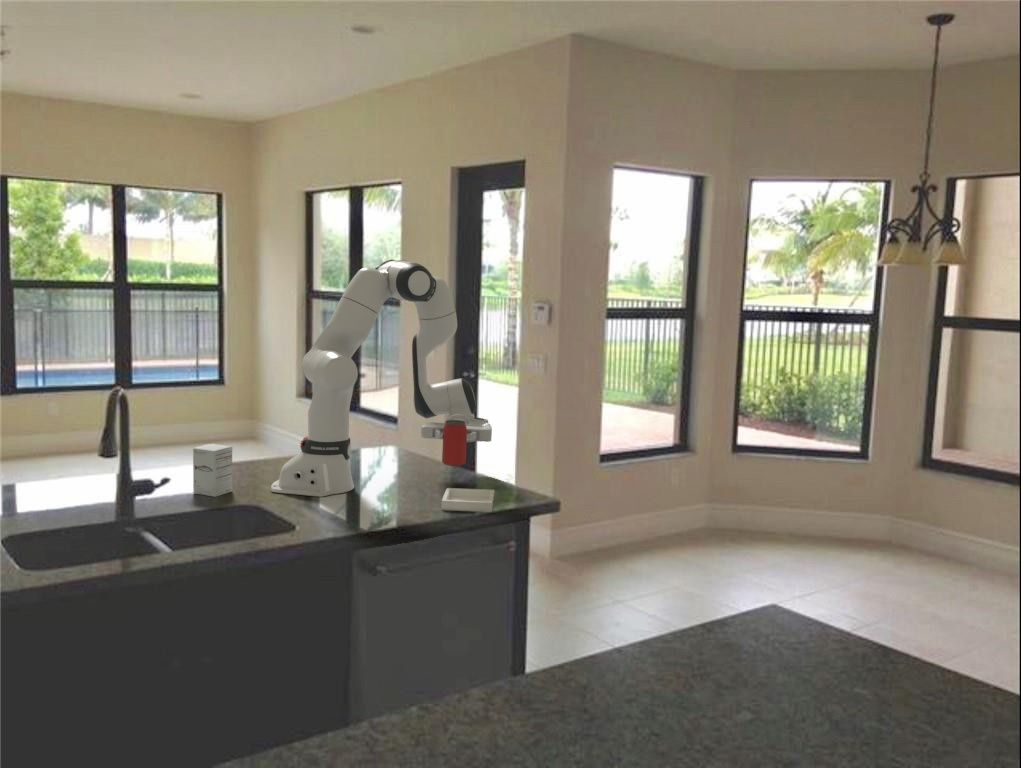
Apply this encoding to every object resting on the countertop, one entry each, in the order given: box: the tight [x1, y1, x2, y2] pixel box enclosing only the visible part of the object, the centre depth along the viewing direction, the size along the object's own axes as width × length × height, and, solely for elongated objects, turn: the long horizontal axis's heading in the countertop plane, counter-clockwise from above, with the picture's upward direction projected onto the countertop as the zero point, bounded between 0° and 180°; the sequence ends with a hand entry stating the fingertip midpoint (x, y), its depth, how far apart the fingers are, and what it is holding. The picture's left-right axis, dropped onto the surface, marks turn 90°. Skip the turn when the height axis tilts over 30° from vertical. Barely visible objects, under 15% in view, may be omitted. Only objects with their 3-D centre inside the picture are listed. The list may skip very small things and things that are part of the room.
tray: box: [441, 487, 495, 513], centre depth 223 cm, size 13×13×2 cm
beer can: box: [441, 420, 467, 467], centre depth 235 cm, size 7×7×12 cm
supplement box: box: [192, 443, 233, 498], centre depth 225 cm, size 7×7×13 cm
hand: (454, 437), depth 234 cm, fingers closed on beer can, 7 cm apart
